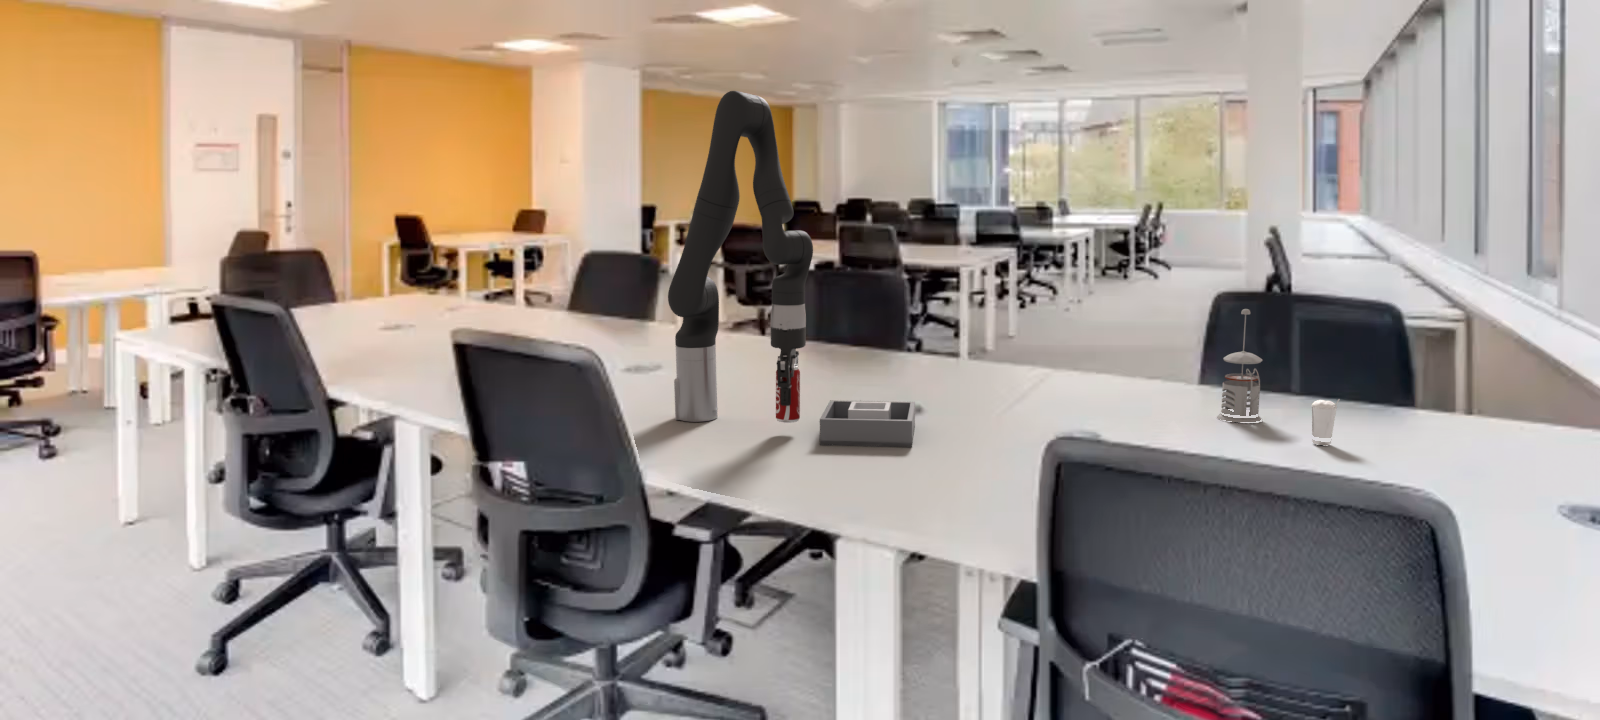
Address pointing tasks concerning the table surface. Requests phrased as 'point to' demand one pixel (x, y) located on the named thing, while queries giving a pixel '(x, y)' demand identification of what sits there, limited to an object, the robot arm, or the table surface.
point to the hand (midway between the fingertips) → (787, 402)
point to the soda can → (793, 410)
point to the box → (868, 423)
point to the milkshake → (1323, 420)
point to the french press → (1241, 387)
